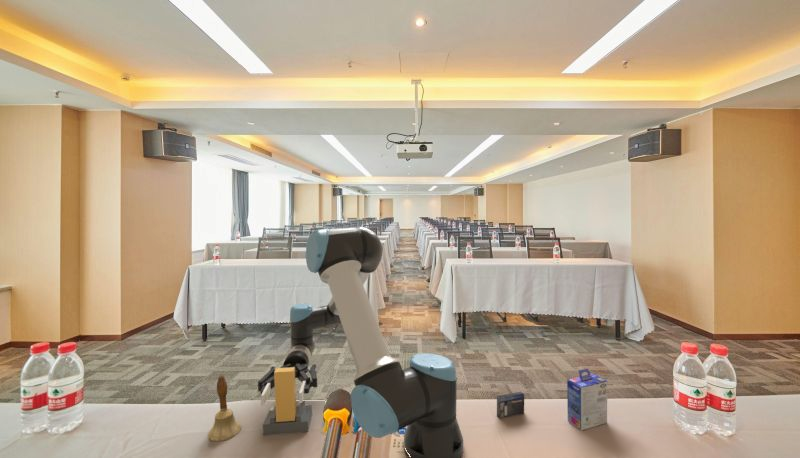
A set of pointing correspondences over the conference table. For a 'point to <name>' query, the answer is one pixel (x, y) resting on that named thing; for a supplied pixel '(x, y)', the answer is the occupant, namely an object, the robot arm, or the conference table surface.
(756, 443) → the conference table surface
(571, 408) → the ink cartridge box
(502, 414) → the mini dv tape
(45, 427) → the conference table surface
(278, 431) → the stepped grey plinth
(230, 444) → the conference table surface
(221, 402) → the hand bell
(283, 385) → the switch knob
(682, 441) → the conference table surface
